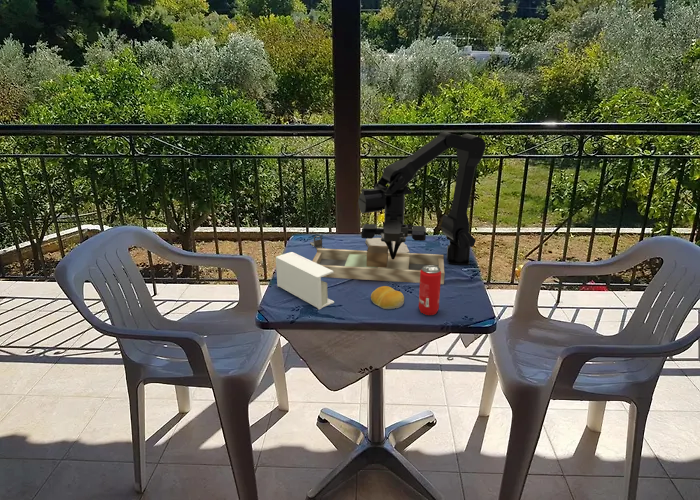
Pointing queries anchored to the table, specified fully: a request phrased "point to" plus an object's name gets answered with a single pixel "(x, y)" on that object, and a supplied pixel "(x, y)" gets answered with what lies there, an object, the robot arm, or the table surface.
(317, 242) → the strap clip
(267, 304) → the table surface
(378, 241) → the washcloth
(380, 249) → the walnut block
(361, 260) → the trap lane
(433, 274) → the beverage can
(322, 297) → the white plastic beam
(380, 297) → the bread roll
